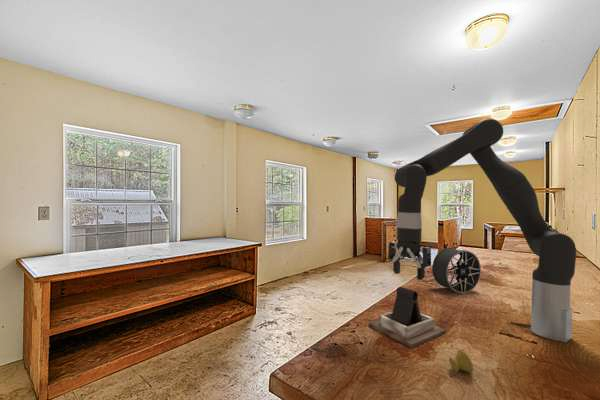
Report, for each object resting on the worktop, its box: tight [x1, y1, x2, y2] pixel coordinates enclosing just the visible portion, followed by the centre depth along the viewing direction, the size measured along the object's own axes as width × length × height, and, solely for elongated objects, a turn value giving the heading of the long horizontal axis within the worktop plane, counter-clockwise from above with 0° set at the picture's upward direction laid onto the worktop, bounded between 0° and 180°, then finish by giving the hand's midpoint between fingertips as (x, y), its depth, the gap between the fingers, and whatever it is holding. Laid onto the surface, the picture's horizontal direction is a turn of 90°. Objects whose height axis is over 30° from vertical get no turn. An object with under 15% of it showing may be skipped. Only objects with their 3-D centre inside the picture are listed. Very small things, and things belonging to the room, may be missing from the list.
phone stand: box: [391, 286, 422, 327], centre depth 90 cm, size 9×6×12 cm, turn 122°
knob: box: [448, 349, 474, 374], centre depth 68 cm, size 5×5×5 cm
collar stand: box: [368, 310, 447, 349], centre depth 90 cm, size 16×18×4 cm
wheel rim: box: [431, 247, 482, 294], centre depth 134 cm, size 20×9×20 cm, turn 105°
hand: (408, 276), depth 90 cm, fingers open, 8 cm apart
